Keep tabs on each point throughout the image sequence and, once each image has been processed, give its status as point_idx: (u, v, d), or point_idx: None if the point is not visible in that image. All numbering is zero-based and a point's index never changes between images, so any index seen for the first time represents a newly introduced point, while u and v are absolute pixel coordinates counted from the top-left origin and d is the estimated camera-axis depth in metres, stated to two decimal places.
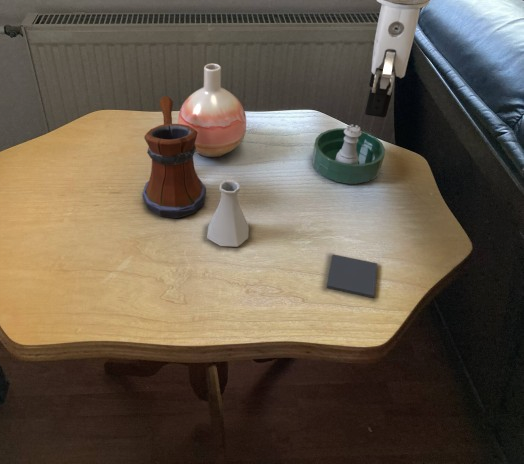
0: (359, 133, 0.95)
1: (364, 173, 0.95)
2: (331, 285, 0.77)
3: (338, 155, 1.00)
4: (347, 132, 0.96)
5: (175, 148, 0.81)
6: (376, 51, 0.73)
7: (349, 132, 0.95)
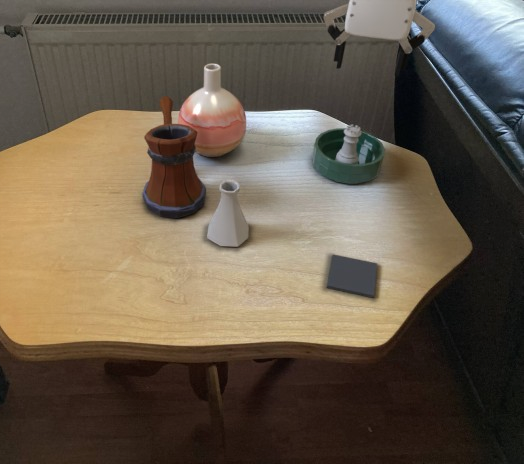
0: (359, 133, 0.95)
1: (364, 173, 0.95)
2: (331, 285, 0.77)
3: (338, 155, 1.00)
4: (347, 132, 0.96)
5: (175, 149, 0.81)
6: (411, 17, 0.78)
7: (349, 132, 0.95)
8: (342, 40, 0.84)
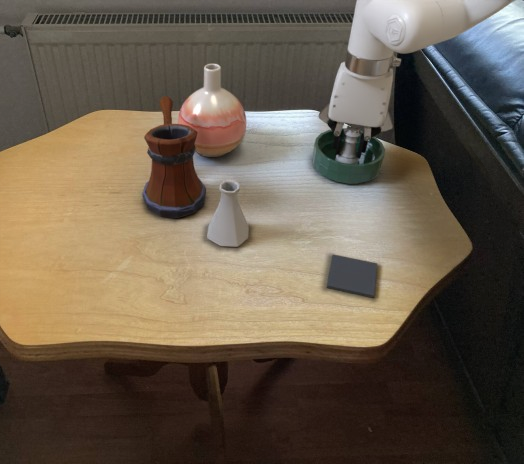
0: (359, 133, 0.95)
1: (364, 173, 0.95)
2: (331, 285, 0.77)
3: (338, 155, 1.00)
4: (347, 132, 0.96)
5: (175, 149, 0.81)
6: (385, 109, 0.90)
7: (349, 132, 0.95)
8: (340, 132, 0.96)
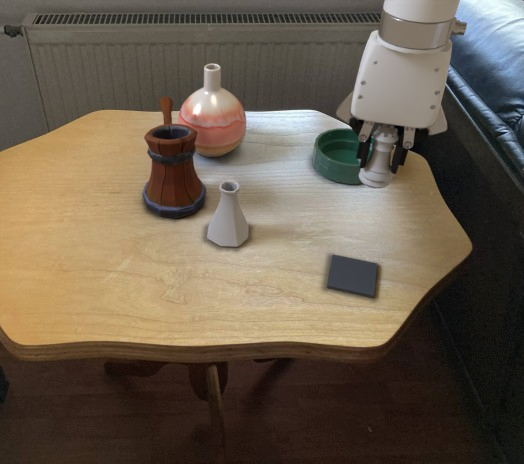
0: (396, 137, 0.65)
1: None
2: (331, 285, 0.77)
3: (364, 169, 0.69)
4: (378, 136, 0.65)
5: (175, 149, 0.81)
6: (439, 102, 0.59)
7: (381, 136, 0.65)
8: (368, 136, 0.65)
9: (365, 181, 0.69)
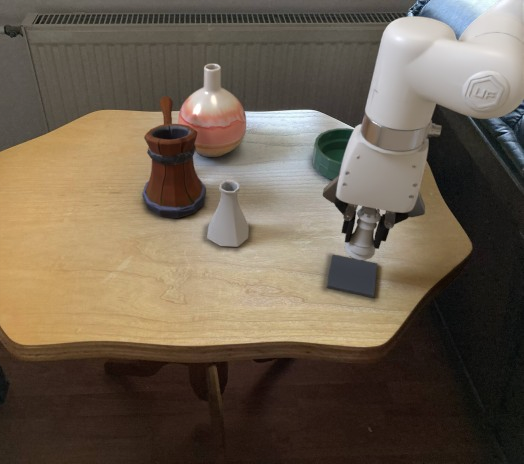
0: (378, 217, 0.70)
1: None
2: (331, 285, 0.77)
3: (349, 242, 0.74)
4: (362, 216, 0.70)
5: (175, 149, 0.81)
6: (416, 192, 0.64)
7: (365, 216, 0.70)
8: (352, 216, 0.70)
9: (350, 253, 0.74)
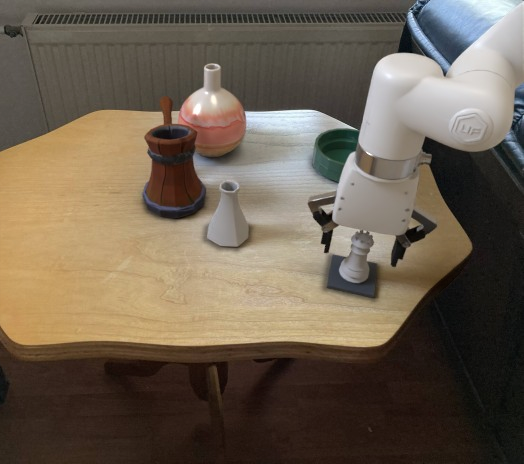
0: (371, 243, 0.73)
1: None
2: (331, 285, 0.77)
3: (343, 265, 0.77)
4: (355, 242, 0.73)
5: (175, 149, 0.81)
6: (409, 217, 0.67)
7: (358, 242, 0.73)
8: (330, 228, 0.73)
9: (344, 277, 0.77)
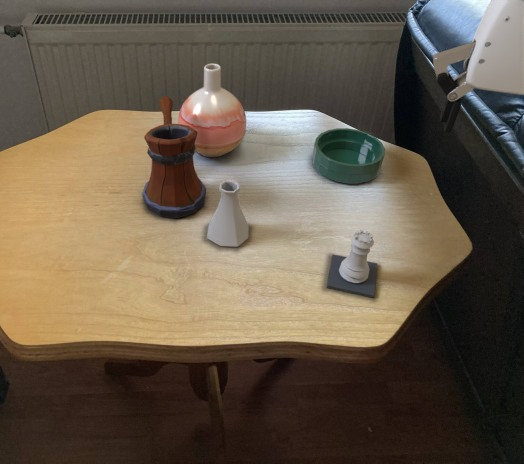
0: (371, 243, 0.73)
1: (364, 173, 0.95)
2: (331, 285, 0.77)
3: (343, 265, 0.77)
4: (355, 242, 0.73)
5: (175, 149, 0.81)
6: None
7: (358, 242, 0.73)
8: (459, 95, 0.57)
9: (344, 277, 0.77)
